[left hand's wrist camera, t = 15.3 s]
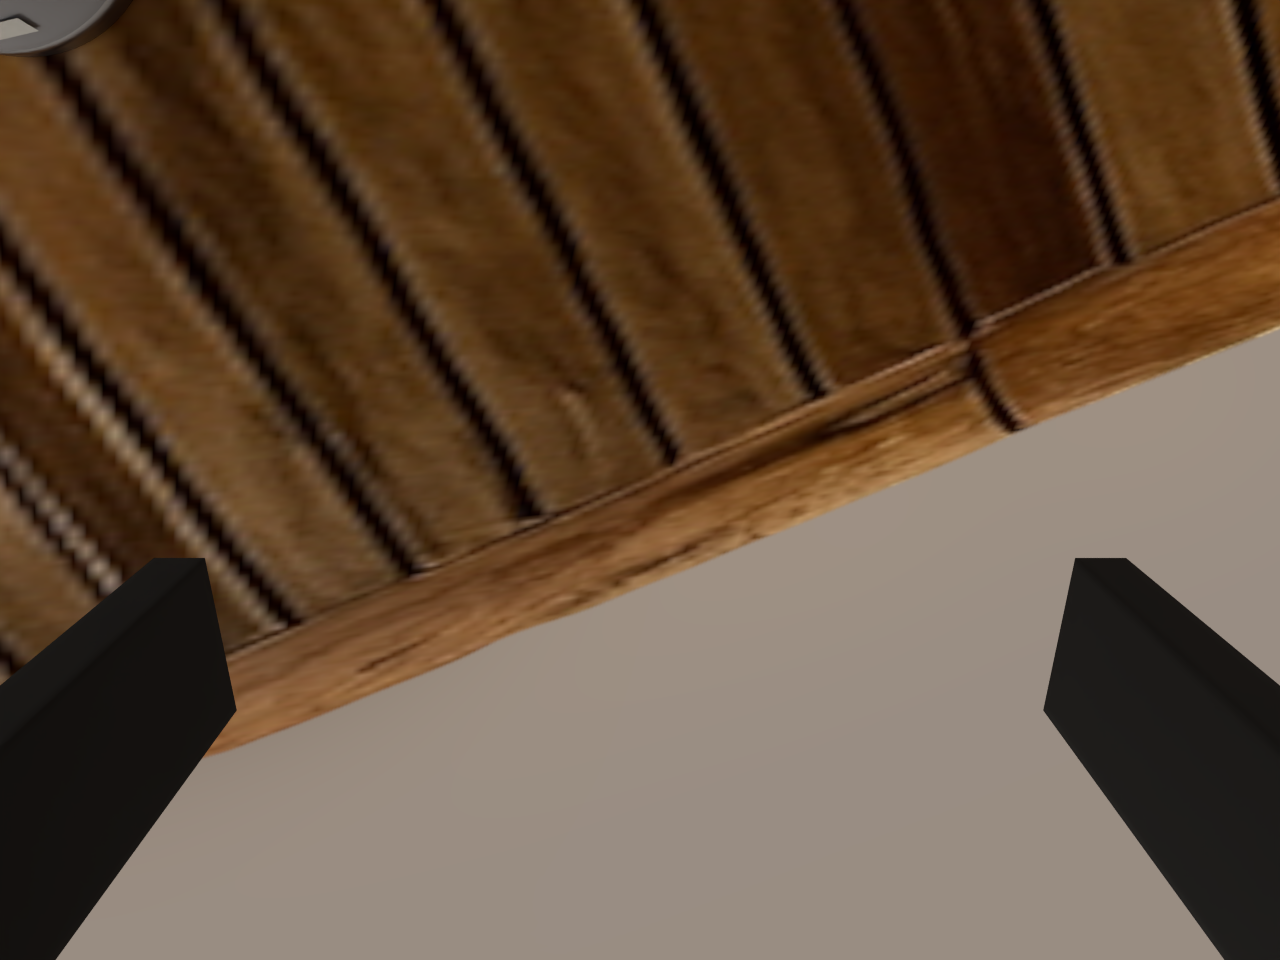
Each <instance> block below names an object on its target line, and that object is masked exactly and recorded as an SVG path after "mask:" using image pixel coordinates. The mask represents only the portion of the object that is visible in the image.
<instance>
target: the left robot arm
mask: <svg viewBox="0 0 1280 960" xmlns="http://www.w3.org/2000/svg"><path fill="white" fill-rule="evenodd" d="M132 1H133V0H0V55H8V56H16V57H38V56H48V55H53V54H58V53H62V52H65V51H68V50H71V49H74V48H77V47H79V46H81V45H83V44H85V43H87V42H89V41H91V40H93V39H94V38H96V37H97V36H99V35H100V34H102V33H103V32H104V31H106V30H107V29H108V28H109V27H110V26H111V25H113V24H114V23H115V22H116V21H117V19H118V18H119V17H120V16H121V15H122V14H123V13H124V12H125V10H126V9H127V8H128V6H129V5H130V3H131V2H132ZM236 711H237V710H236V705H235V700H234V695H233V691H232V686H231V681H230V676H229V672H228V667H227V662H226V657H225V652H224V648H223V643H222V638H221V633H220V629H219V624H218V619H217V614H216V609H215V605H214V600H213V595H212V590H211V586H210V581H209V576H208V571H207V567H206V562H205V558H153V559H152V560H151V561H150V562H149V563H147V564H146V565H145V566H144V567H143V568H141V569H140V570H139V571H138V572H137V573H135V574H134V575H133V576H132V577H131V578H129V579H128V580H127V581H126V582H125V583H123V584H122V585H121V586H120V587H119V588H117V589H116V590H115V591H114V592H113V593H111V594H110V595H109V596H108V597H106V598H105V599H104V600H103V601H102V602H100V603H99V604H98V605H97V606H96V607H94V608H93V609H92V610H91V611H90V612H88V613H87V614H86V615H85V616H84V617H82V618H81V619H80V620H79V621H78V622H76V623H75V624H74V625H73V626H72V627H70V628H69V629H68V630H67V631H66V632H64V633H63V634H62V635H61V636H59V637H58V638H57V639H56V640H55V641H53V642H52V643H51V644H50V645H49V646H47V647H46V648H45V649H44V650H43V651H41V652H40V653H39V654H38V655H37V656H35V657H34V658H33V659H32V660H31V661H29V662H28V663H27V664H26V665H25V666H23V667H22V668H21V669H20V670H18V671H17V672H16V673H15V674H14V675H12V676H11V677H10V678H9V679H8V680H6V681H5V682H4V683H3V684H2V685H0V960H56V958H57V957H58V956H59V954H60V953H61V952H62V950H63V949H64V947H65V946H66V945H67V943H68V942H69V941H70V939H71V938H72V936H73V935H74V934H75V932H76V931H77V930H78V928H79V927H80V925H81V924H82V923H83V921H84V920H85V918H86V917H87V916H88V914H89V913H90V912H91V910H92V909H93V907H94V906H95V905H96V903H97V902H98V901H99V899H100V898H101V896H102V895H103V894H104V892H105V891H106V890H107V888H108V887H109V885H110V884H111V883H112V881H113V880H114V879H115V877H116V876H117V874H118V873H119V872H120V870H121V869H122V868H123V866H124V865H125V863H126V862H127V861H128V859H129V858H130V857H131V855H132V854H133V852H134V851H135V850H136V848H137V847H138V846H139V844H140V843H141V841H142V840H143V839H144V837H145V836H146V834H147V833H148V832H149V830H150V829H151V828H152V826H153V825H154V823H155V822H156V821H157V819H158V818H159V817H160V815H161V814H162V812H163V811H164V810H165V808H166V807H167V806H168V804H169V803H170V801H171V800H172V799H173V797H174V796H175V795H176V793H177V792H178V790H179V789H180V788H181V786H182V785H183V784H184V782H185V781H186V779H187V778H188V777H189V775H190V774H191V773H192V771H193V770H194V768H195V767H196V766H197V764H198V763H199V761H200V760H201V759H202V757H203V756H204V755H205V753H206V752H207V750H208V749H209V748H210V746H211V745H212V744H213V742H214V741H215V739H216V738H217V737H218V735H219V734H220V733H221V731H222V730H223V728H224V727H225V726H226V724H227V723H228V722H229V720H230V719H231V717H232V716H233V715H234V713H235V712H236ZM1044 712H1045V713H1046V715H1047V716H1048V717H1049V719H1050V720H1051V722H1052V723H1053V724H1054V726H1055V727H1056V728H1057V730H1058V731H1059V733H1060V734H1061V735H1062V737H1063V738H1064V739H1065V741H1066V742H1067V744H1068V745H1069V746H1070V748H1071V749H1072V750H1073V752H1074V753H1075V755H1076V756H1077V757H1078V759H1079V760H1080V762H1081V763H1082V764H1083V766H1084V767H1085V768H1086V770H1087V771H1088V772H1089V774H1090V775H1091V777H1092V778H1093V779H1094V781H1095V782H1096V784H1097V785H1098V786H1099V788H1100V789H1101V790H1102V792H1103V793H1104V795H1105V796H1106V797H1107V799H1108V800H1109V801H1110V803H1111V804H1112V806H1113V807H1114V808H1115V810H1116V811H1117V812H1118V814H1119V815H1120V817H1121V818H1122V819H1123V821H1124V822H1125V823H1126V825H1127V826H1128V828H1129V829H1130V830H1131V832H1132V833H1133V834H1134V836H1135V837H1136V839H1137V840H1138V841H1139V843H1140V844H1141V845H1142V847H1143V848H1144V850H1145V851H1146V852H1147V854H1148V855H1149V857H1150V858H1151V859H1152V861H1153V862H1154V863H1155V865H1156V866H1157V868H1158V869H1159V870H1160V872H1161V873H1162V874H1163V876H1164V877H1165V879H1166V880H1167V881H1168V883H1169V884H1170V885H1171V887H1172V888H1173V890H1174V891H1175V892H1176V894H1177V895H1178V896H1179V898H1180V899H1181V901H1182V902H1183V903H1184V905H1185V906H1186V907H1187V909H1188V910H1189V912H1190V913H1191V914H1192V916H1193V917H1194V918H1195V920H1196V921H1197V923H1198V924H1199V925H1200V927H1201V928H1202V930H1203V931H1204V932H1205V934H1206V935H1207V936H1208V938H1209V939H1210V941H1211V942H1212V943H1213V945H1214V946H1215V947H1216V949H1217V950H1218V952H1219V953H1220V954H1221V956H1222V957H1223V958H1224V960H1280V685H1278V684H1277V683H1276V682H1275V681H1274V680H1272V679H1271V678H1270V677H1269V676H1268V675H1266V674H1265V673H1264V672H1263V671H1261V670H1260V669H1259V668H1258V667H1257V666H1255V665H1254V664H1253V663H1252V662H1251V661H1249V660H1248V659H1247V658H1246V657H1245V656H1243V655H1242V654H1241V653H1240V652H1239V651H1237V650H1236V649H1235V648H1234V647H1233V646H1231V645H1230V644H1229V643H1228V642H1227V641H1225V640H1224V639H1223V638H1222V637H1220V636H1219V635H1218V634H1217V633H1216V632H1214V631H1213V630H1212V629H1211V628H1210V627H1208V626H1207V625H1206V624H1205V623H1204V622H1202V621H1201V620H1200V619H1199V618H1198V617H1196V616H1195V615H1194V614H1193V613H1192V612H1190V611H1189V610H1188V609H1187V608H1186V607H1184V606H1183V605H1182V604H1181V603H1180V602H1178V601H1177V600H1176V599H1175V598H1174V597H1172V596H1171V595H1170V594H1169V593H1167V592H1166V591H1165V590H1164V589H1163V588H1161V587H1160V586H1159V585H1158V584H1157V583H1155V582H1154V581H1153V580H1152V579H1151V578H1149V577H1148V576H1147V575H1146V574H1144V573H1143V572H1142V571H1141V570H1140V569H1139V568H1137V567H1136V566H1135V565H1134V564H1132V563H1131V562H1130V561H1129V560H1128V559H1127V558H1075V562H1074V567H1073V571H1072V576H1071V581H1070V586H1069V590H1068V595H1067V600H1066V605H1065V610H1064V614H1063V619H1062V624H1061V629H1060V633H1059V638H1058V643H1057V648H1056V652H1055V657H1054V662H1053V667H1052V672H1051V676H1050V681H1049V686H1048V691H1047V695H1046V700H1045V705H1044Z"/></svg>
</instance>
